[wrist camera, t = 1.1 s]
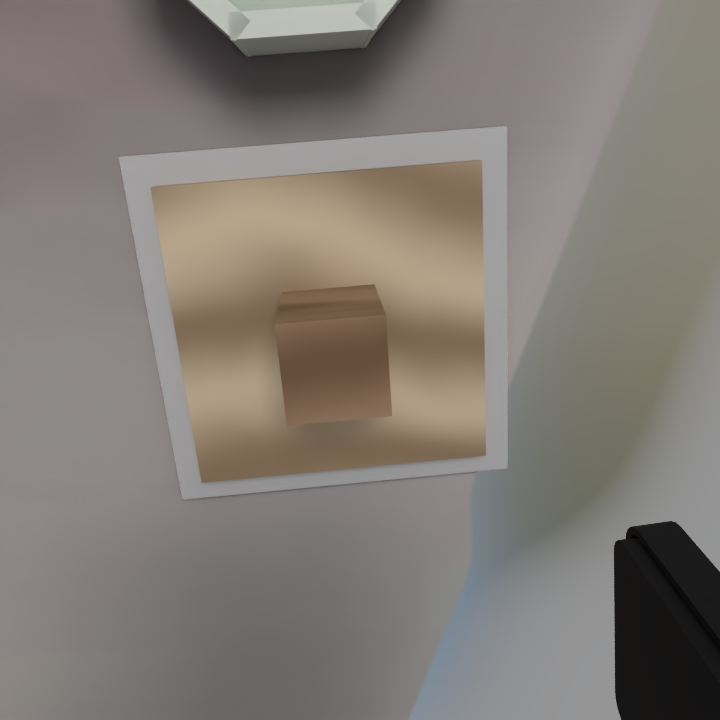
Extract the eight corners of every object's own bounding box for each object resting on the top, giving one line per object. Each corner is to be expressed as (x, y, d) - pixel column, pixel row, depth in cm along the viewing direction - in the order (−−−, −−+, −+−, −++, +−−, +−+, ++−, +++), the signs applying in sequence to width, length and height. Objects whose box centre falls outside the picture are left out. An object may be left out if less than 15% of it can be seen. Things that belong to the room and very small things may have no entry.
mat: (504, 462, 33) (507, 468, 33) (184, 493, 33) (182, 499, 32) (503, 126, 28) (507, 126, 28) (122, 156, 28) (118, 156, 27)
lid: (482, 448, 32) (515, 512, 27) (204, 474, 32) (180, 545, 27) (477, 159, 28) (516, 166, 22) (154, 185, 28) (114, 199, 22)
